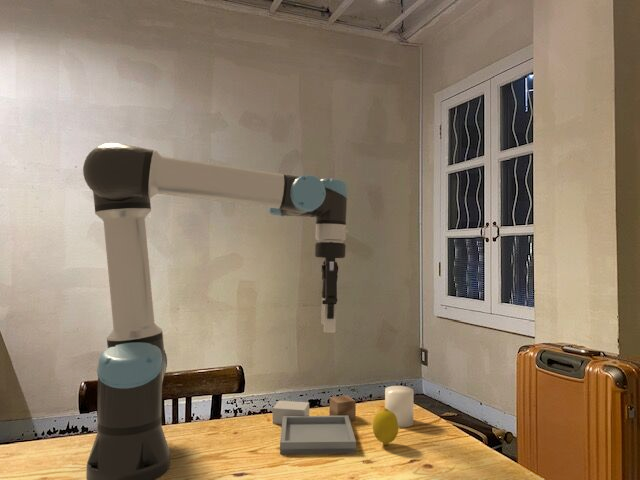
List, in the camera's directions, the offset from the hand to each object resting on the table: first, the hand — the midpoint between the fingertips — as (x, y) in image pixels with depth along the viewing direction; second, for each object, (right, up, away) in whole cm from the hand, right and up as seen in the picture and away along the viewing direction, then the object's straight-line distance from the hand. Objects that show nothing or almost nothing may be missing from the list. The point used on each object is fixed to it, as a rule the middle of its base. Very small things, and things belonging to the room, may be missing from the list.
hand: (328, 328), depth 118 cm
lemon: (+12, -24, -13) cm, 30 cm away
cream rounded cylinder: (+18, -24, +2) cm, 30 cm away
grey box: (-9, -24, +2) cm, 26 cm away
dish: (-3, -23, -9) cm, 25 cm away
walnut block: (+4, -24, +4) cm, 24 cm away
